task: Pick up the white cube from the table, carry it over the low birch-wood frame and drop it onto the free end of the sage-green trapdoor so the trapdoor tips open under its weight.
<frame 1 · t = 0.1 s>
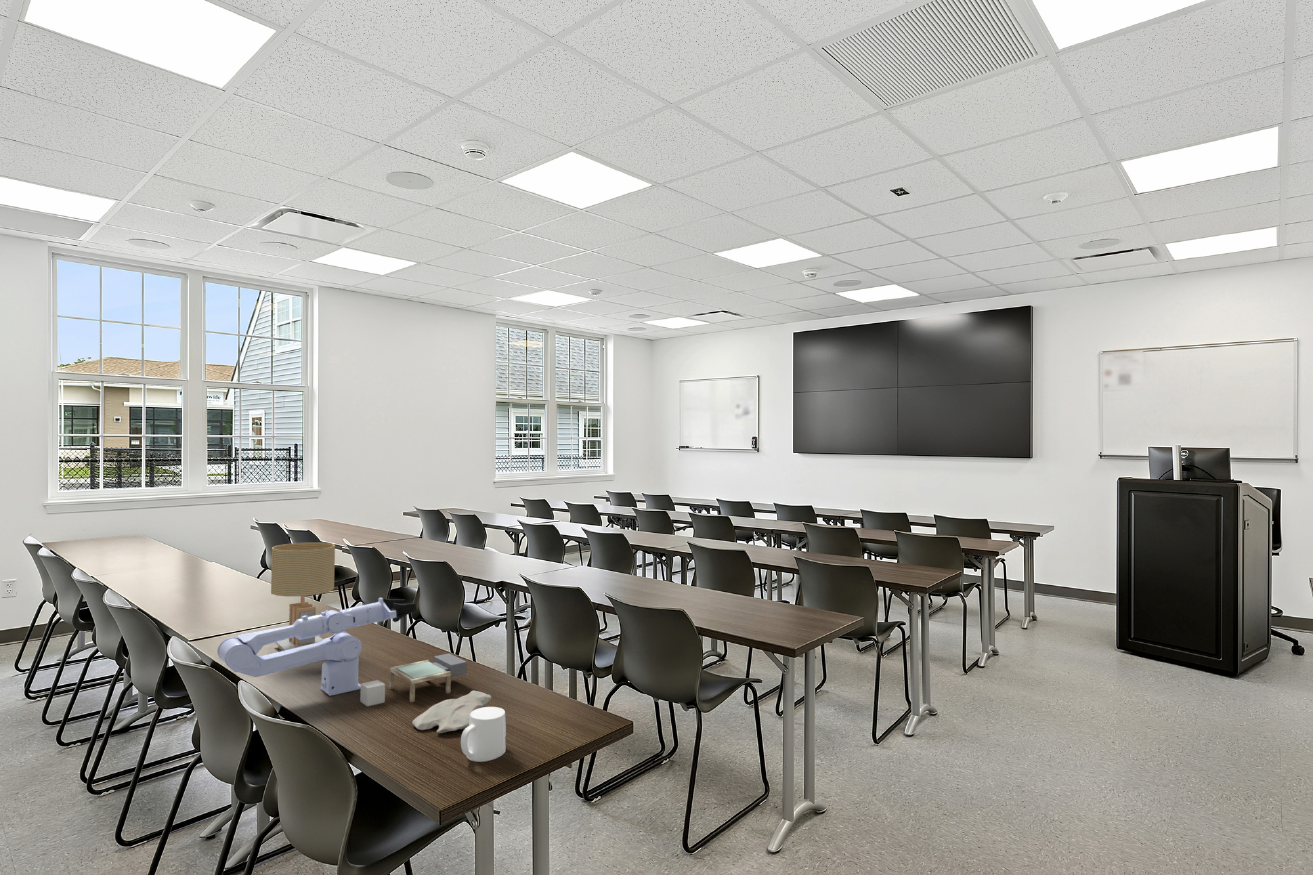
hand: (410, 604, 218), 22 cm above the table, tool horizontal, fingers open, 7 cm apart
desk lamp: (301, 649, 242), on the table
trapdoor frame: (437, 686, 208), on the table
mug: (482, 755, 163), on the table
white cube: (372, 702, 195), on the table
trapdoor: (432, 668, 207), point 5 cm above the table, hinge at 0.0°
rock: (458, 723, 182), on the table
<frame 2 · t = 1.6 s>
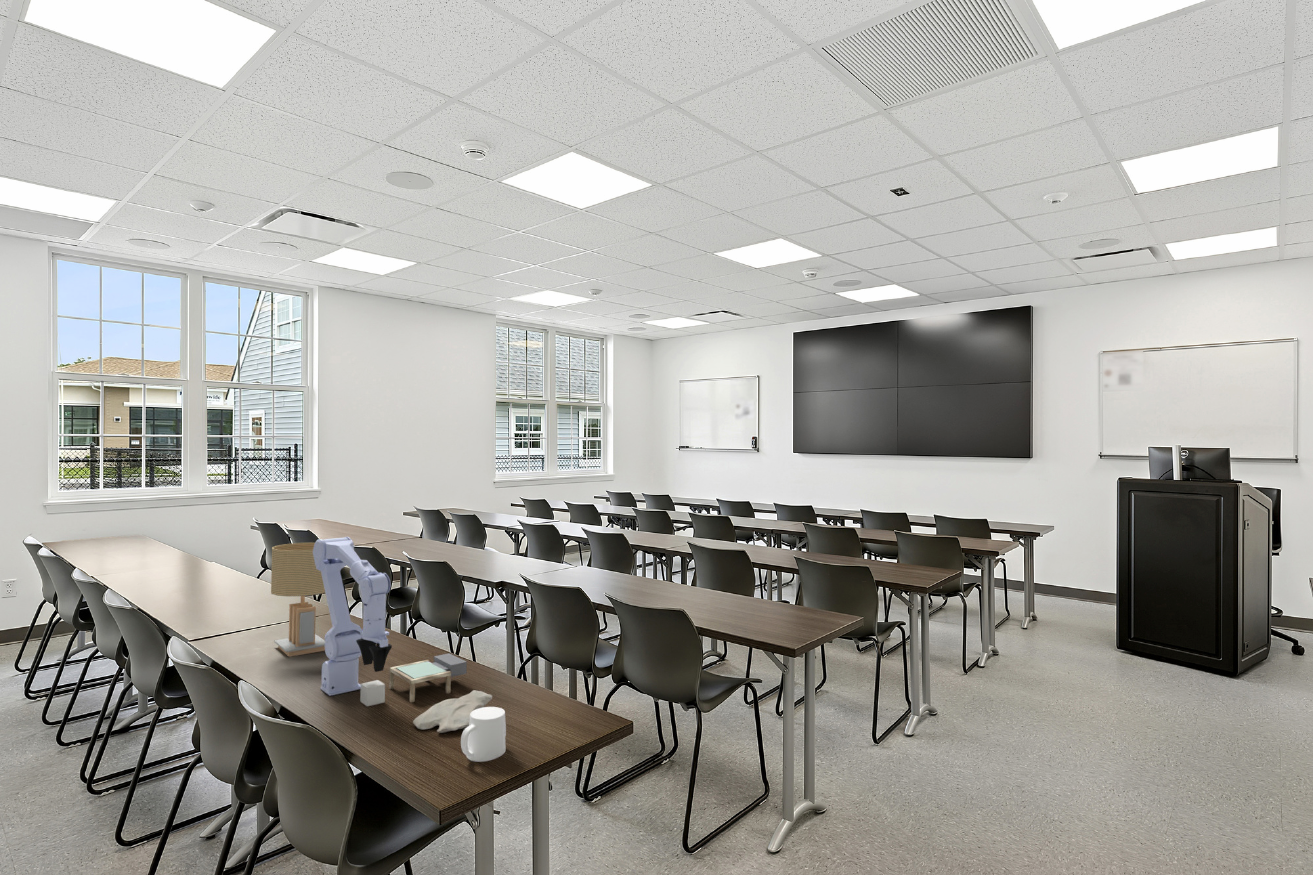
hand: (373, 667, 195), 9 cm above the table, tool pointing down, fingers open, 7 cm apart
nothing on the table moved.
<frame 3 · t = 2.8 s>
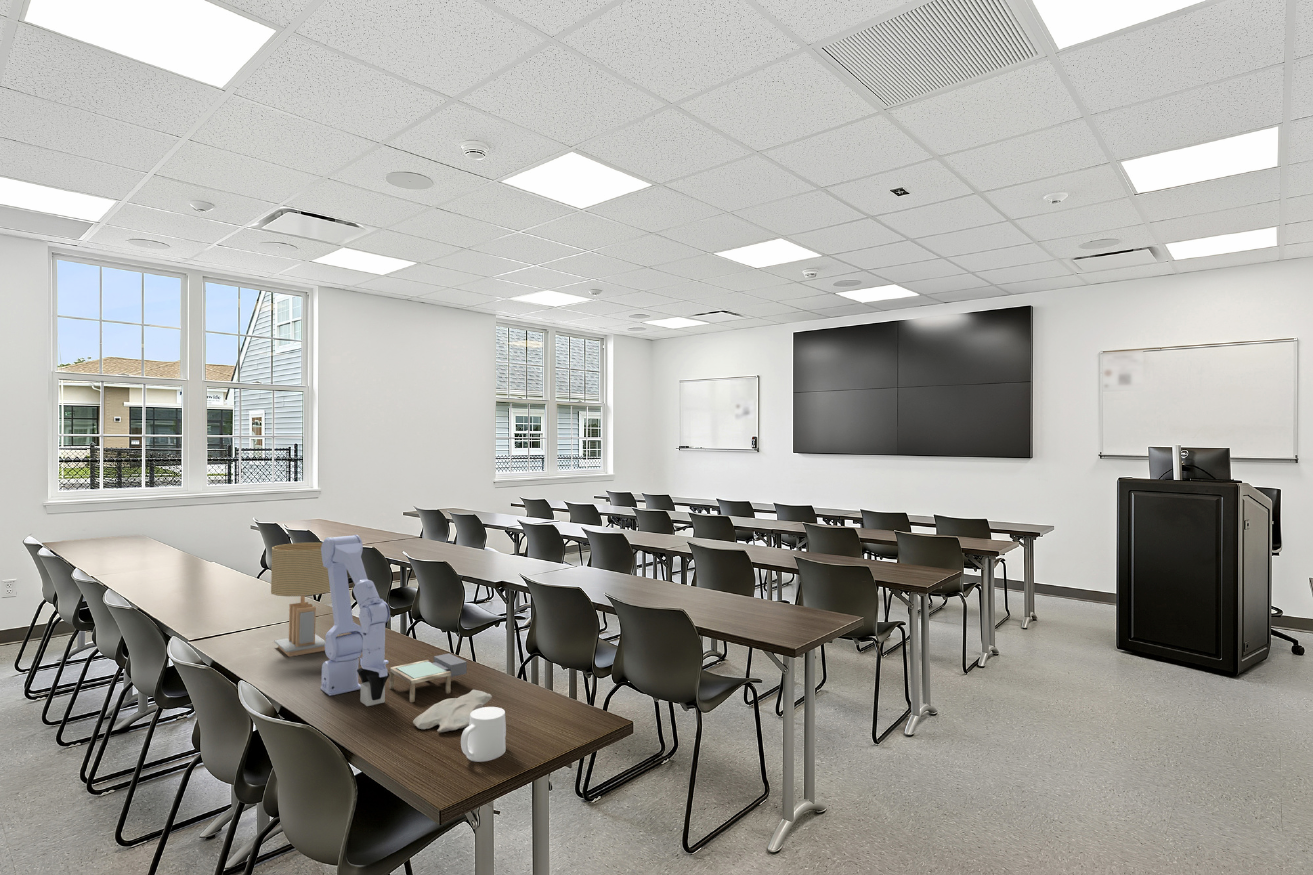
hand: (372, 696, 195), 1 cm above the table, tool pointing down, fingers closed on white cube, 5 cm apart
white cube: (372, 701, 195), on the table, touching gripper
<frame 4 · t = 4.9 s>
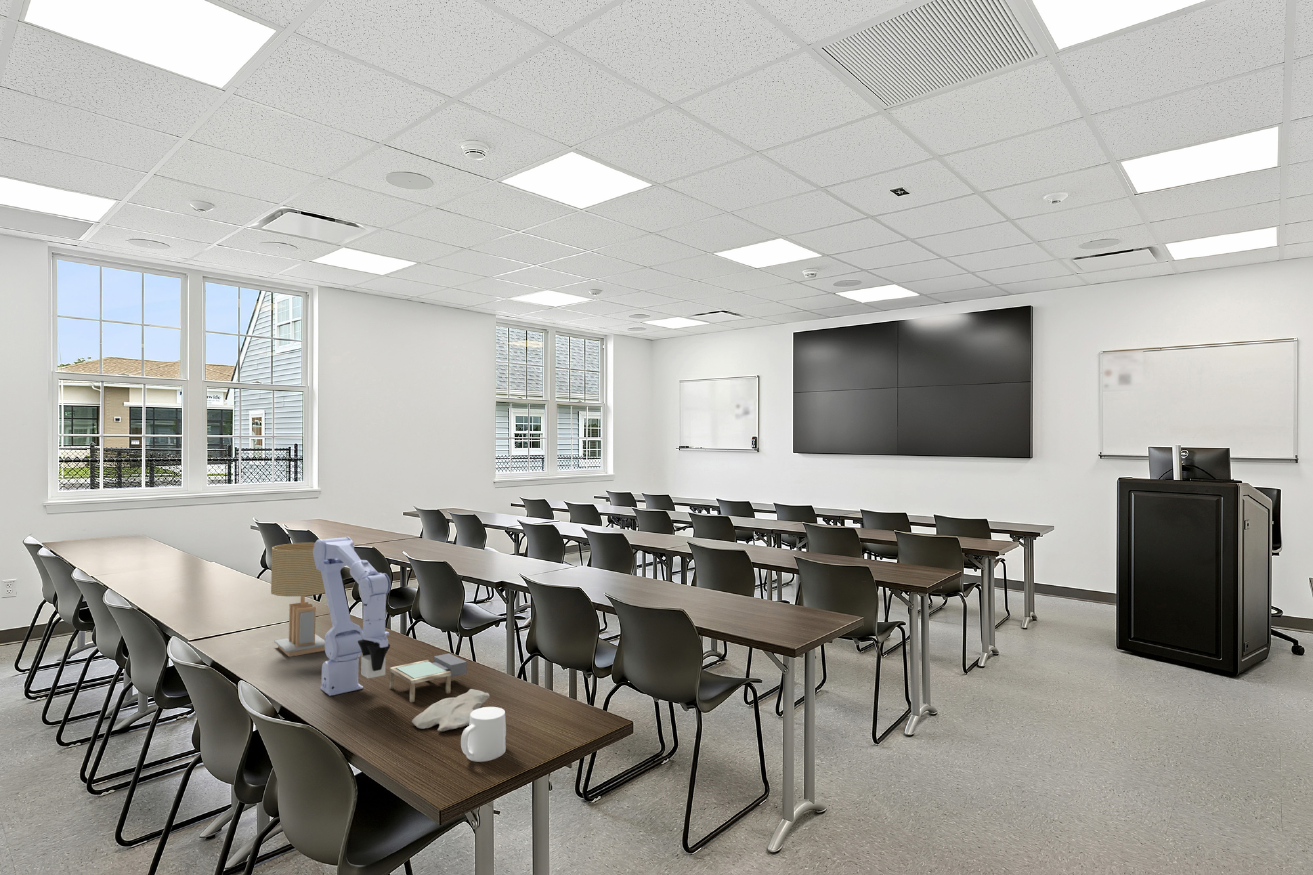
hand: (373, 667, 195), 9 cm above the table, tool pointing down, fingers closed on white cube, 5 cm apart
white cube: (373, 674, 195), point 7 cm above the table, touching gripper
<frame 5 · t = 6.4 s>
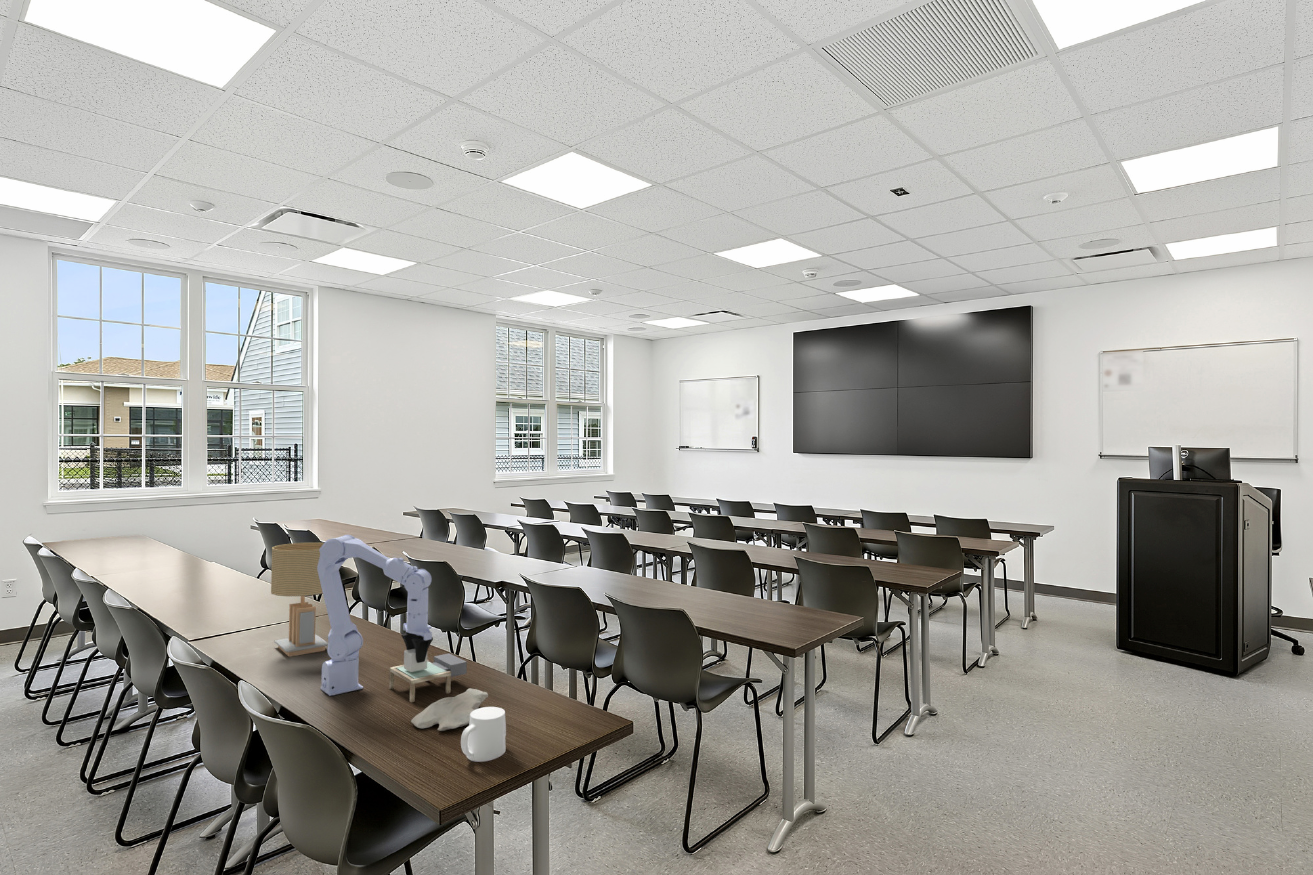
hand: (416, 659, 203), 9 cm above the table, tool pointing down, fingers closed on white cube, 5 cm apart
white cube: (415, 668, 203), point 7 cm above the table, touching gripper
when the fingers open (9 cm above the table, at t = 7.0 s): white cube drops 2 cm, resting on trapdoor.
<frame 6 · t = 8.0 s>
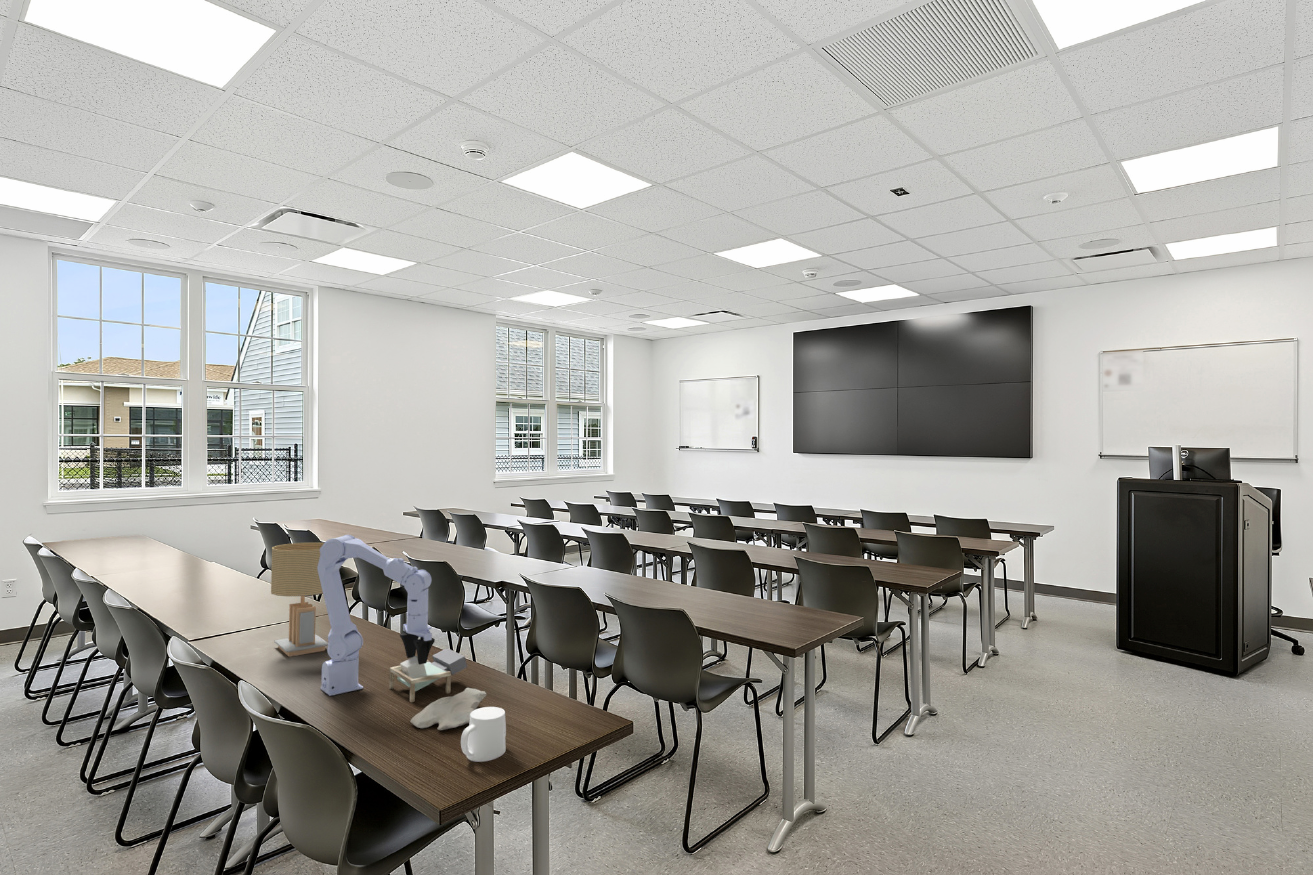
hand: (416, 660, 203), 9 cm above the table, tool pointing down, fingers open, 7 cm apart
white cube: (415, 677, 203), point 4 cm above the table, tilted 16°, touching trapdoor
trapdoor: (432, 670, 207), point 5 cm above the table, hinge at -16.4°, touching white cube
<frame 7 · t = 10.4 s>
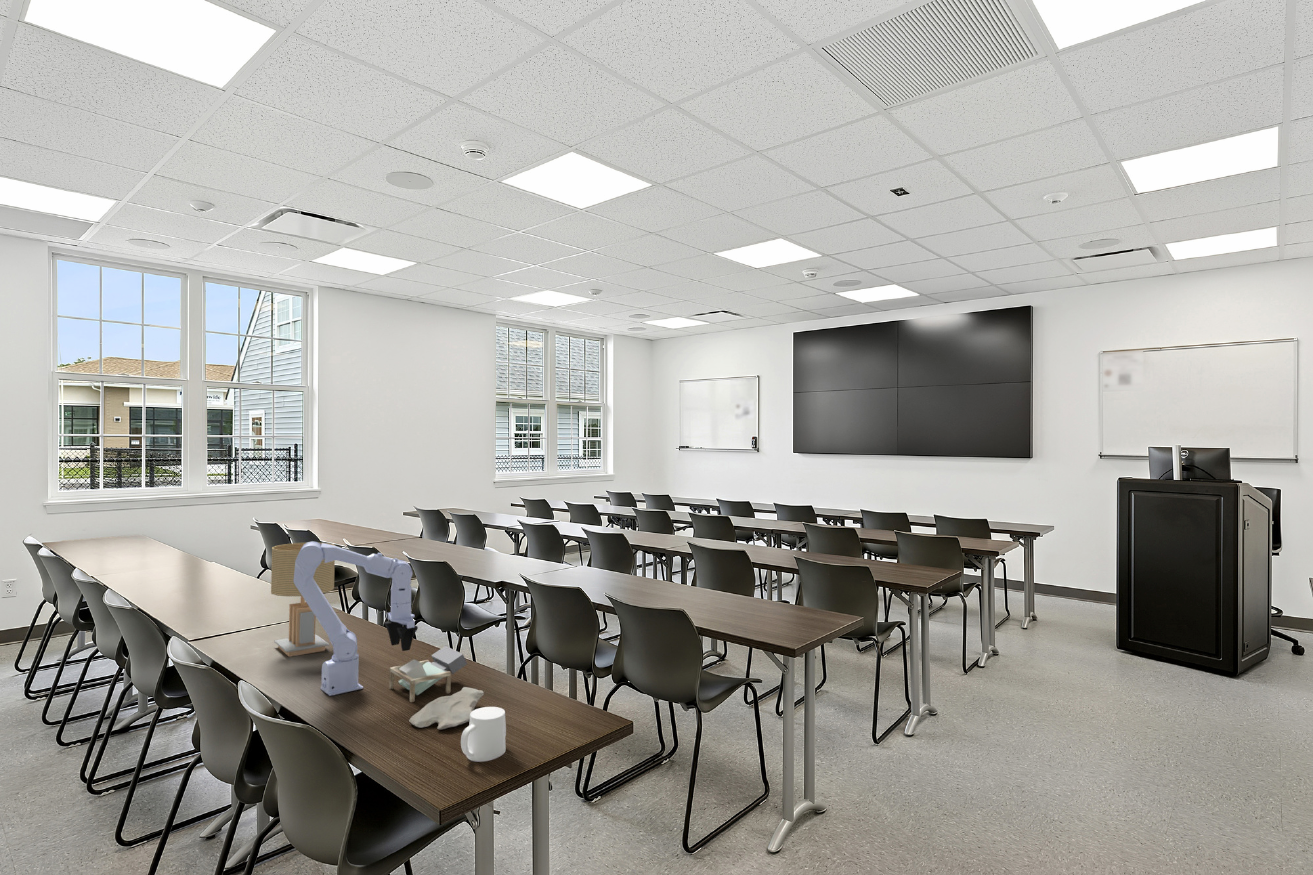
hand: (400, 647, 211), 10 cm above the table, tool pointing down, fingers open, 7 cm apart
white cube: (416, 680, 203), point 3 cm above the table, tilted 24°, touching trapdoor, trapdoor frame
trapdoor: (432, 671, 207), point 5 cm above the table, hinge at -24.2°, touching white cube
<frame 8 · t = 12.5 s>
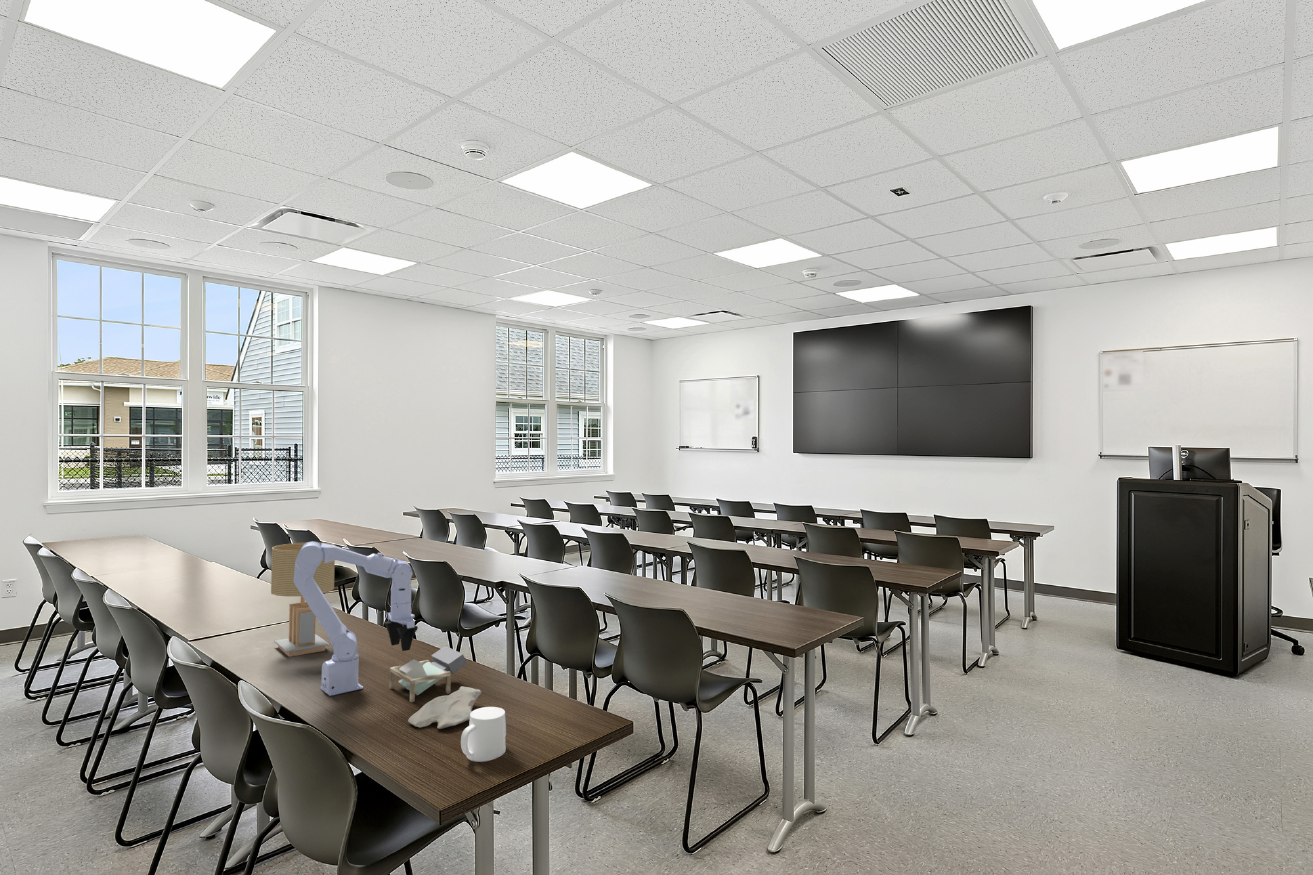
hand: (400, 647, 211), 10 cm above the table, tool pointing down, fingers open, 7 cm apart
at the end: trapdoor at -24° (first picture: +0°); white cube point 3.2 cm above the table; white cube inside the target area (0.7 cm from its centre), point 3.2 cm above the table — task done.
